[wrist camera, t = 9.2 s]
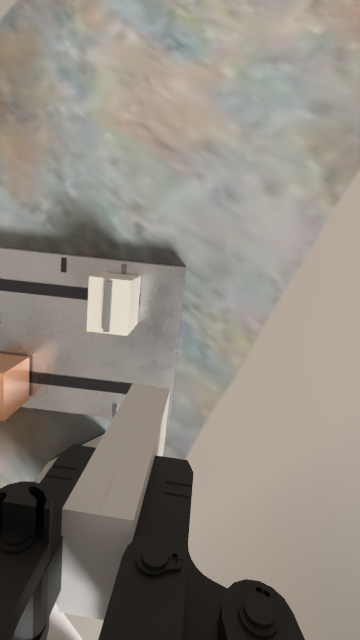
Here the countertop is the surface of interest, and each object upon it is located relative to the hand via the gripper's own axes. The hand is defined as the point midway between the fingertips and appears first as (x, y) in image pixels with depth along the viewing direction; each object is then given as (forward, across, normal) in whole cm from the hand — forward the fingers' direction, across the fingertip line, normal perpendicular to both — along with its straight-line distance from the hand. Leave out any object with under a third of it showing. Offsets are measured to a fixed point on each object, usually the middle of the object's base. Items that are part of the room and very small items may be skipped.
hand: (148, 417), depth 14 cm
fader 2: (+15, -5, +2) cm, 16 cm away
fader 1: (+15, -14, -6) cm, 22 cm away
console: (+17, -11, -2) cm, 21 cm away
